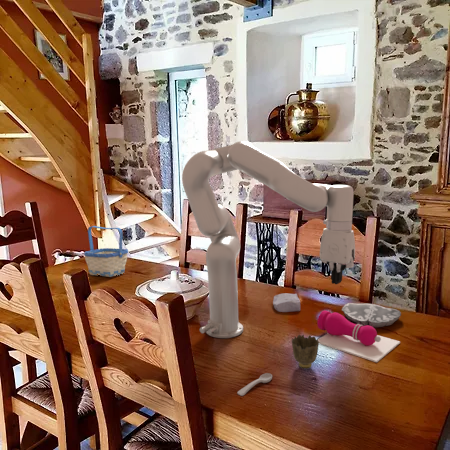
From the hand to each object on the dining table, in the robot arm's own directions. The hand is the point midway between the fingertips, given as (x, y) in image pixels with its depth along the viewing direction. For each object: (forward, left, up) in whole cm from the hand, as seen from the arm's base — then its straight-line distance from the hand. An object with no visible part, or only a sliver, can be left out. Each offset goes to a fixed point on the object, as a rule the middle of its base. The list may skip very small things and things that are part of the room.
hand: (336, 282), depth 142 cm
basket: (-9, +119, -18) cm, 121 cm away
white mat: (0, -8, -18) cm, 19 cm away
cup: (-23, -4, -18) cm, 29 cm away
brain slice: (+19, -3, -19) cm, 27 cm away
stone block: (+12, +28, -19) cm, 35 cm away
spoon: (-39, +1, -19) cm, 43 cm away
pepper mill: (0, +5, -14) cm, 15 cm away
